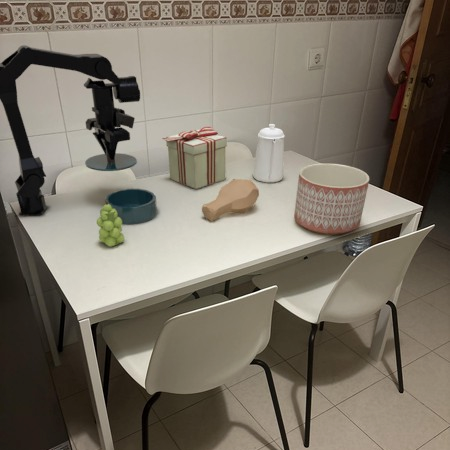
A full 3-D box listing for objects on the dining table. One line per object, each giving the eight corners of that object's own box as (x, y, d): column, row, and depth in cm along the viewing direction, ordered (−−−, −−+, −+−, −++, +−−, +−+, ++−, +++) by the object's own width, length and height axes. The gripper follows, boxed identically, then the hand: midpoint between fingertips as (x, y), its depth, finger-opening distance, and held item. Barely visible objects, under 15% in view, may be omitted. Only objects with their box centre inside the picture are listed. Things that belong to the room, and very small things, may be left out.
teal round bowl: (103, 224, 130) (101, 207, 127) (112, 203, 142) (110, 188, 139) (154, 224, 130) (153, 207, 127) (158, 203, 142) (157, 188, 139)
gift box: (192, 167, 171) (190, 120, 161) (228, 179, 161) (229, 129, 151) (158, 178, 160) (155, 128, 150) (195, 192, 151) (194, 140, 141)
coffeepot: (254, 191, 153) (257, 134, 142) (251, 166, 173) (254, 115, 162) (286, 192, 153) (292, 135, 142) (279, 167, 173) (284, 116, 162)
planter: (281, 215, 137) (286, 167, 128) (333, 206, 144) (341, 160, 135) (317, 243, 123) (325, 191, 114) (372, 231, 129) (384, 181, 121)
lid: (80, 172, 133) (77, 154, 130) (91, 156, 145) (89, 139, 142) (133, 173, 133) (131, 155, 130) (140, 157, 146) (138, 140, 143)
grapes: (97, 248, 118) (90, 204, 111) (102, 236, 123) (95, 194, 116) (122, 248, 118) (117, 204, 111) (126, 236, 124) (121, 194, 116)
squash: (264, 207, 142) (268, 183, 135) (218, 234, 132) (219, 209, 125) (240, 192, 147) (242, 168, 140) (194, 216, 137) (194, 191, 131)
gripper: (144, 107, 127) (148, 162, 136) (115, 95, 139) (121, 146, 148) (107, 111, 121) (114, 168, 130) (81, 99, 134) (89, 151, 143)
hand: (110, 158), depth 138 cm, fingers closed on lid, 2 cm apart
